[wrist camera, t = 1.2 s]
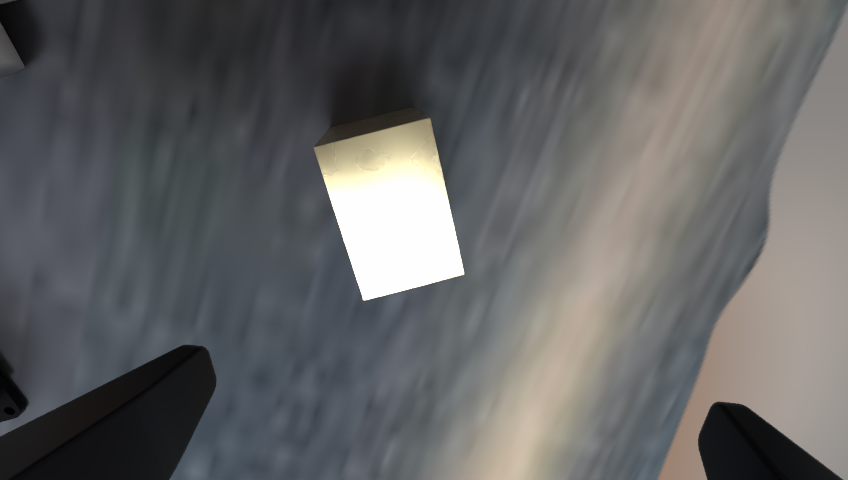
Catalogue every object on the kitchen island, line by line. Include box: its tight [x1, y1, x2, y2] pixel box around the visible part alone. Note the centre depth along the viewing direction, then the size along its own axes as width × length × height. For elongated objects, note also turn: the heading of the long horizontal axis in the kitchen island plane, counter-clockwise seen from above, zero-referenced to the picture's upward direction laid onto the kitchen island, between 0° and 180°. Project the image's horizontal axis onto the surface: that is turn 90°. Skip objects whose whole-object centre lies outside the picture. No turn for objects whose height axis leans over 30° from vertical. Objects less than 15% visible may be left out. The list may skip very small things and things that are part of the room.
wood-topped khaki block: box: [314, 107, 464, 301], centre depth 18 cm, size 4×6×6 cm, turn 13°
